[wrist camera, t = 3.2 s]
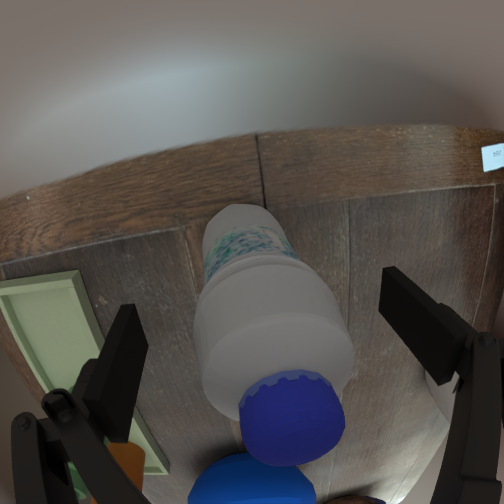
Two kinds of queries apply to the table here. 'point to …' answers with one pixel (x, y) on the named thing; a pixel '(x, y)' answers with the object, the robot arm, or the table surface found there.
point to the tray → (64, 340)
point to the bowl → (356, 500)
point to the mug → (443, 394)
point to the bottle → (270, 340)
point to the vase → (251, 483)
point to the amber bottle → (129, 461)
